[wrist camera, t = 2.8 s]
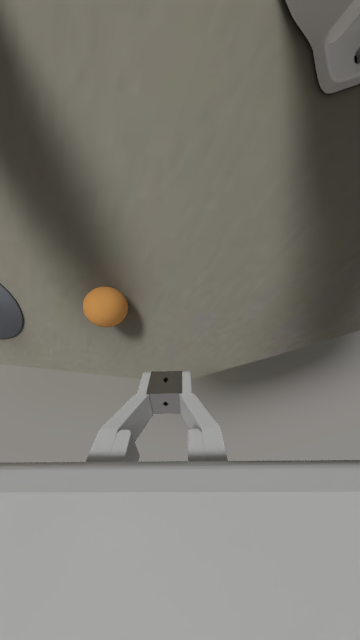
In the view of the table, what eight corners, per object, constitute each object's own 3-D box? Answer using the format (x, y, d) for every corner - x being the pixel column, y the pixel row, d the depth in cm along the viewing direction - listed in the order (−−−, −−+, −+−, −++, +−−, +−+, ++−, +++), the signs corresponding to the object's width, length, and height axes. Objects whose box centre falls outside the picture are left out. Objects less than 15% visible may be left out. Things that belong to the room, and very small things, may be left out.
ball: (128, 281, 22) (113, 293, 17) (135, 315, 24) (124, 334, 19) (91, 282, 22) (65, 295, 17) (102, 316, 24) (82, 335, 19)
